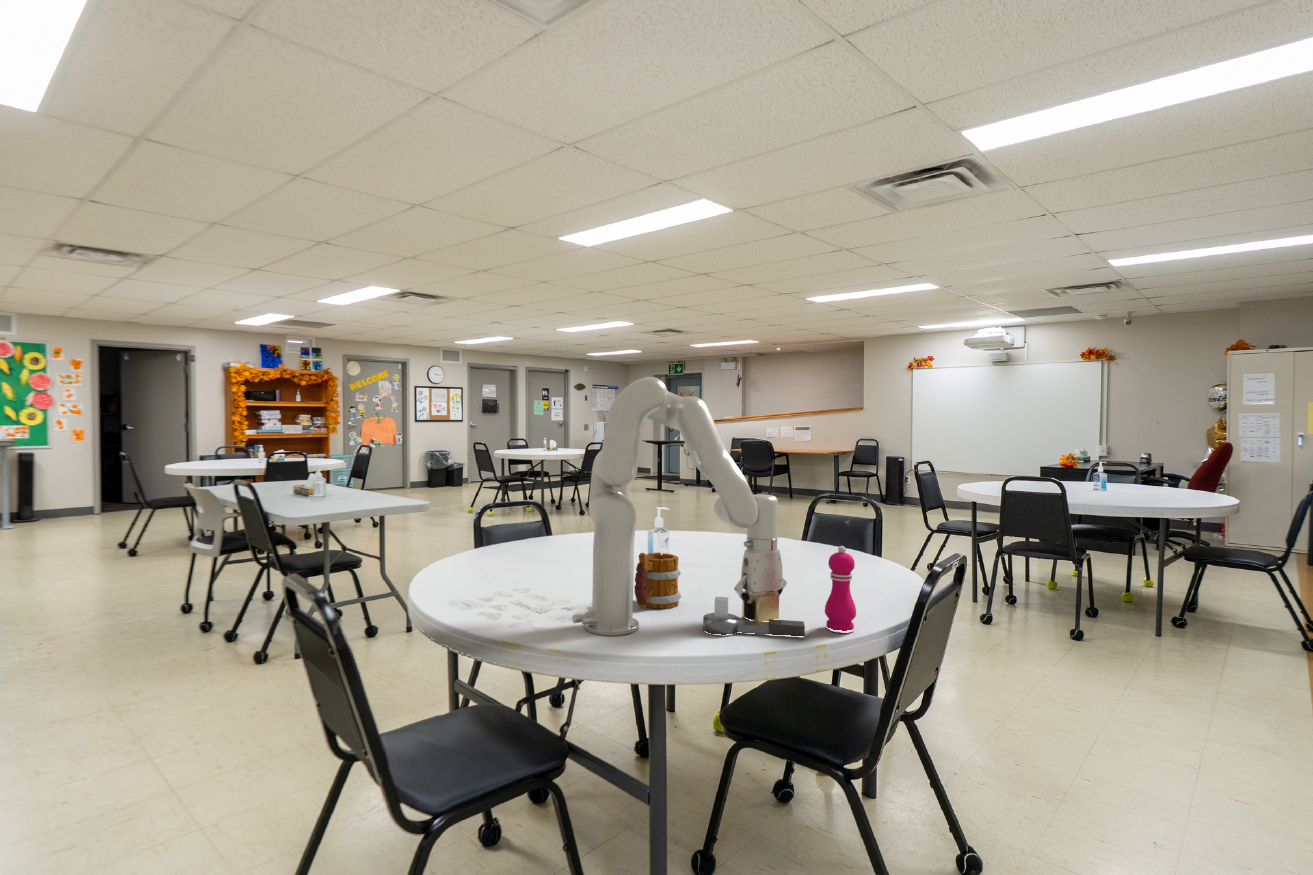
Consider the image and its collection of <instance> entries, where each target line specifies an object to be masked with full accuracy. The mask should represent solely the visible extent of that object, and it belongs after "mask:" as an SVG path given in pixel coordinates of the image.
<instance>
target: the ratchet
mask: <svg viewBox="0 0 1313 875" xmlns="http://www.w3.org/2000/svg"><path fill="white" fill-rule="evenodd" d="M702 627H703V628H702V631H703V630H704V631H706V632H708V633H711V634H721V635H726V634H735V633H737V632H742V633H755V634H772V635H791V636H805V632H806V631H805V628H806V627H805V622H804V621H802V620H801V621H800V620H790V619H789V620H788V619H786V620H785V619H779V620H773V619H769V622H759V621H749V620H741V619H740V617H739V616H738V615H735V614H732V613H729V597H727V596H726V597H725V596H715V598H714V612H710V613H706V614H704V615H703V618H702ZM704 631H703V632H704ZM805 637H806V636H805Z"/></svg>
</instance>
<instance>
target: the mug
mask: <svg viewBox="0 0 1313 875" xmlns="http://www.w3.org/2000/svg"><path fill="white" fill-rule="evenodd" d="M635 571H636V572H635V577H634V583H635V584H634V585H633V588H634V595H635V599H636V603H637V604H638V605H639V608H640V609H646V608H648V609H653V608H655V610H656V608H658V609H659V610H663V609H666V608H668V609H674V608H675V607H679V605H678V604H680V602H679V600H680V599H681V598H682V595H681V593H680V591H679V576H680V575H681V574H682V573H681V571H680V569H679V557H678V556H677V555H675V554H671V553H665V552H664V553H662V554H661V552H650V553H647V554H646V552H640V553H639V555H638V563H637V565H636V568H635ZM673 607H674V608H673Z"/></svg>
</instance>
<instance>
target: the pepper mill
mask: <svg viewBox="0 0 1313 875" xmlns="http://www.w3.org/2000/svg"><path fill="white" fill-rule="evenodd" d="M827 563H828V567H829V569H830V570H831V572H830V575H829V576H830V577H829V578H830V579H831V581H832V582H831V584H832V585H831V591H830V594H829V596H828V598H827V599H826V600H827V601H826V603H825V606H824V614H825V616H826V617H827V618H828V619H827V620H826V626H827V627H828V628H831V629H833V630H842V631H847V630H852V629H854V628H855V624H854V622H853V620H854V619H855V618H856V617H857V608H856V603H855V601H854V600H853V597H852V594H851V581H852V580H853V574H852V571H853V570H854V569H855V568H856V567H855V566H856V565H855V559H854V557H853V556H852V555H850V554H849V553H847V552H846V547H845V546H844V545H840V546H838V548H837V552H834V553H832V554H831V555H830V556H829V558H828V562H827ZM854 630H855V629H854Z"/></svg>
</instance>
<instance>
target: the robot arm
mask: <svg viewBox="0 0 1313 875" xmlns="http://www.w3.org/2000/svg"><path fill="white" fill-rule="evenodd" d="M646 419H648V420H651V421H653V422H656V423H658V424H660V425H662V426H666V427H667V428H669V429H670V428H671V429H674V430H675V431H676V430H677V431H679V433H680V435H681V437H682V440H683V442H684V444H685V445H686V448H687V450H688V452H689V455H690V457H691V459H692V462H693V463H694V465H695V467H696V468H697V469H698V471H699V472H700V473H701V474H702V475H703V476H705V478H706V479H708V480H709V482H710V484H712V486H713V488H714V489H715V490H716V492H717V494H718V495H719V497H718V498H716V500H715V502H714V507H713V510H714V513H715V516H716V517H717V518H718V519H719V520H720V521H721V522H723V523H725V524H728V525H730V526H733V527H735V528H738V529H746V541H743V546H744V547H745V548H746V549H745V550H744V552H743V558H742V562H741V570H740V571H741V572H740V573H741V574H740V580H739V581H738V582H737V584H736V585H735V586H734V588H733V589H734V592H735V593H736V594H737V595H738V596H739V598H740V599H741V601H742V602H743V601H744V617H746V618H748V619H751V620H753V619H754V603H752V601H753V599H754V596H755V593H762V592H769V591H770V592H773V593H775V594H778V595H779V596H781V595H782V593H783V591H784V589H785V588H786V586H787V584H788V582H787V581H786V579H785V578H784V577H783V576H784V575H783V561H782V555H781V551H780V549H778V524H779V522H778V521H779V520H778V518H779V500H778V498H777V497H776V496H775V495H772V494H764V493H763V494H761V493H760V494H754V493H753V492H752V490H751V487H750V485H749V484H748V481H747V478H745V476H744V474H743V472H742V471H741V470H740V468H739V467H738V465H737V464H736V462H735V461H734V459H733V457H732V456H731V455H730V454H729V451H728V450H727V448H726V446H725V444H724V441H723V438H722V437H721V435H720V433H719V431H718V428H717V426H716V423H715V421H714V418H713V416H712V413H711V412H710V409H709V408H708V406H707V403H706V402H705V401H704V400H703V399H702V398H699V397H697V396H682V395H681V396H680V395H678V394H676V393H673V392H671V391H669V390H668V389H667V386H666V384H665V383H664V382H663V381H662V380H661V379H659V378H658V377H653V376H646V377H645V376H644V377H642V378H639V379H637V380H635V381H633V382H631V383H629V385H627V386H625V388H624V389H623V390H621V391H620V393H619V394H618V395H617V396H616V398H615V399H614V400H613V402H612V403H611V405H610V407H609V409H608V412H607V417H606V420H605V426H604V433H603V442H602V447H601V448H602V449H601V450H600V451H599V452H598V453H597V455H596V456H595V458H594V460H593V464H592V468H591V475H590V476H591V478H590V487H589V488H590V489H589V498H588V499H589V500H588V513H589V516H590V519H591V520H592V522H593V523H594V532H593V543H592V544H593V546H592V603H591V604H592V605H591V607H588V608H587V611H585V612H584V613H578V614H576V613H575V614H573V615H572V616H571V620H572V621H571V622H572V623H573V624H578V623H579V624H580V623H581V624H582V625H585V630H587V631H588V632H590V633H593V634H595V635H601V636H622V635H628V634H632V633H634V632H636V631H637V630H638V629H639V627H640V623H639V621H638V620H637V619H636V618H634V617H633V616H634V615H633V612H634V610H633V609H634V607H633V606H634V605H633V604H634V599H633V598H634V566H635V564H634V550H635V549H634V548H635V536H636V535H635V534H636V527H637V512H636V508H635V506H634V503H632V501H631V500H630V499H629V498H628V493H629V492H628V490H629V486H630V484H632V483H633V482H634V481H635V479H636V477H637V474H638V468H639V467H638V464H639V454H640V453H639V452H640V451H639V450H640V441H641V435H642V429H643V426H644V423H645V421H646ZM749 592H750V594H749ZM748 594H749V597H748Z"/></svg>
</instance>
